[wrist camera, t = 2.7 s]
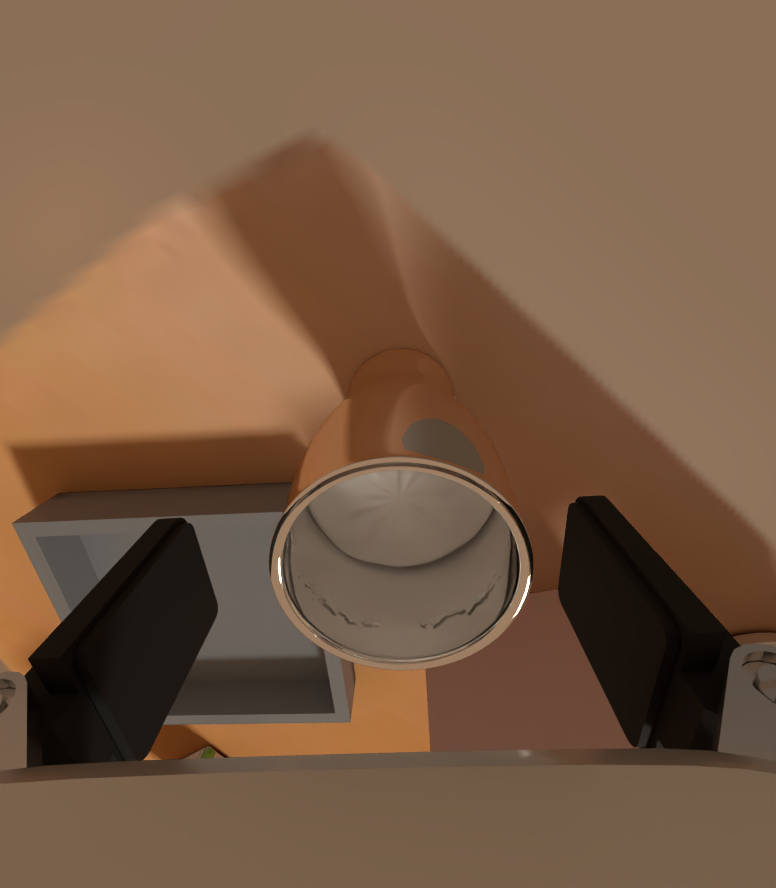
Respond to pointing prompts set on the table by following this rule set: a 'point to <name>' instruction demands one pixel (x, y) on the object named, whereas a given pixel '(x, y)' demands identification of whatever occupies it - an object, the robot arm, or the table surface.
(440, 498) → the beer glass
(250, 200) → the table surface
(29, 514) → the tray
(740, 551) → the table surface
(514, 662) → the greeting card
